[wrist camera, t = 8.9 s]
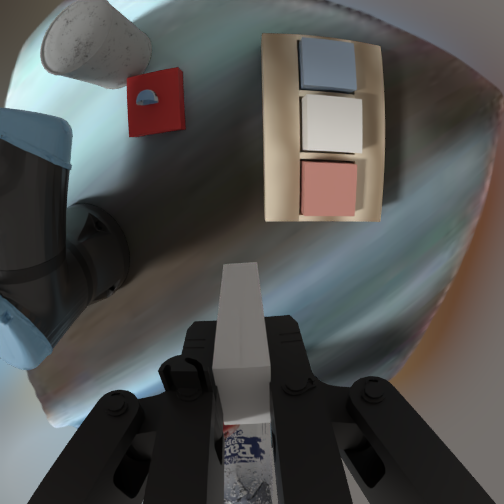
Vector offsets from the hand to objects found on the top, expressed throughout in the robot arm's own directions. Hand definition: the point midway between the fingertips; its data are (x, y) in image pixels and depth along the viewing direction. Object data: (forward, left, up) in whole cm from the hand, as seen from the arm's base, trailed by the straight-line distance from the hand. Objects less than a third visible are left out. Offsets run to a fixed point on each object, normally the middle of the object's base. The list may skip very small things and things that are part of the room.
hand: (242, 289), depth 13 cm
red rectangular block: (-11, +13, -25) cm, 31 cm away
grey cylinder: (-17, +21, -25) cm, 37 cm away
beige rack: (+9, +9, -25) cm, 28 cm away
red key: (+9, +2, -21) cm, 23 cm away
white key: (+9, +9, -20) cm, 23 cm away
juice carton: (-3, -33, -25) cm, 42 cm away
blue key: (+9, +16, -21) cm, 28 cm away
